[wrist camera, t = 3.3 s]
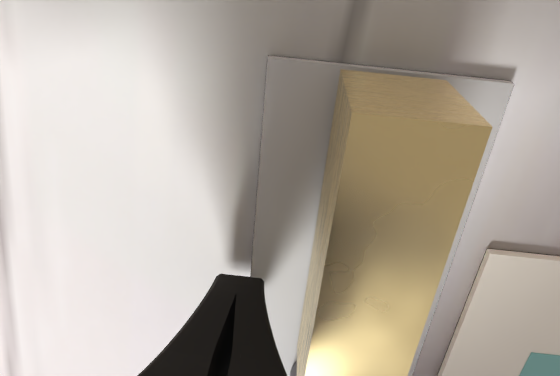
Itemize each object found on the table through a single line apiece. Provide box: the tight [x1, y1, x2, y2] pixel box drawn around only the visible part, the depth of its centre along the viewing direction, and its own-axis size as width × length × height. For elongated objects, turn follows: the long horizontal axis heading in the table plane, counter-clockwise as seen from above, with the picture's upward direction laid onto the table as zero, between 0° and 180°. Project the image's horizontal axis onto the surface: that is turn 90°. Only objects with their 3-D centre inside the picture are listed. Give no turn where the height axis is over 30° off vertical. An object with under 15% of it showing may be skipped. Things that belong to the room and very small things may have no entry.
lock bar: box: [297, 69, 492, 376], centre depth 12 cm, size 9×2×3 cm, turn 175°
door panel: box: [250, 56, 560, 376], centre depth 13 cm, size 16×14×4 cm
